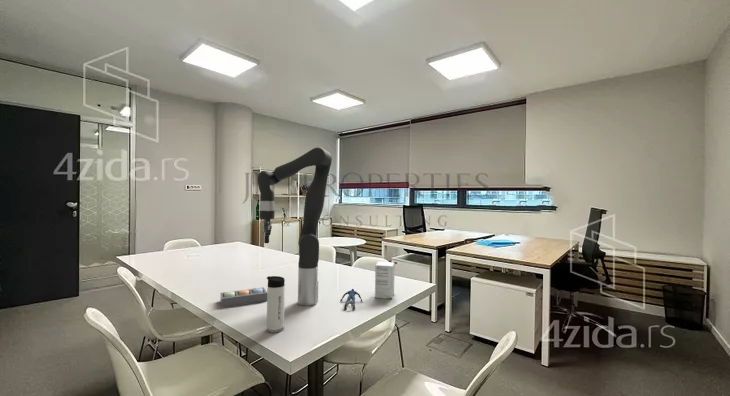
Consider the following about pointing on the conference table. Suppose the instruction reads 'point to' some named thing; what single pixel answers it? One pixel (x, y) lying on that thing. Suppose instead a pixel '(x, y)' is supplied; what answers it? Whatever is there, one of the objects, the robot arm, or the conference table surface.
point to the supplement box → (384, 279)
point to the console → (243, 298)
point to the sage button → (229, 294)
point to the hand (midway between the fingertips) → (266, 243)
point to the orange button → (243, 292)
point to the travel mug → (275, 304)
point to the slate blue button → (257, 290)
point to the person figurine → (351, 296)
